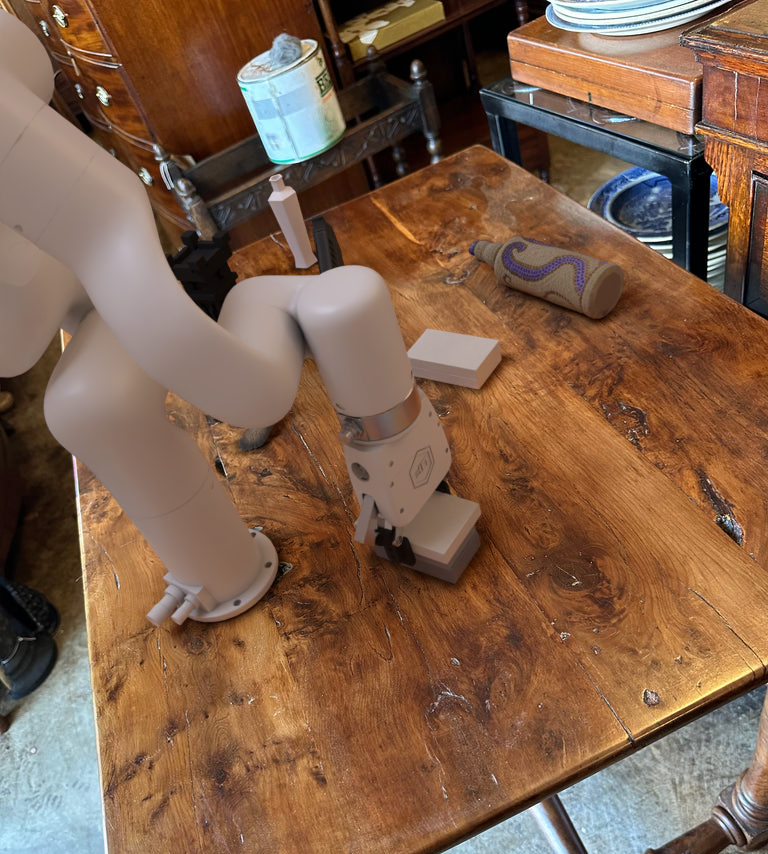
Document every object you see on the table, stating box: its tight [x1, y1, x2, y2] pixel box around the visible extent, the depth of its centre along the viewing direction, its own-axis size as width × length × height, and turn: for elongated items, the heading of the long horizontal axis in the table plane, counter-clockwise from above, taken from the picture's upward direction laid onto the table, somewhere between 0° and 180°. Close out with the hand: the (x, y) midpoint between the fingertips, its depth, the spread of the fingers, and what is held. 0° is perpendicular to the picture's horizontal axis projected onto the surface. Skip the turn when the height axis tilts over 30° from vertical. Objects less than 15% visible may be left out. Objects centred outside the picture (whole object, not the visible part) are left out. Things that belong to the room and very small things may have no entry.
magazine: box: [311, 214, 345, 275], centre depth 115 cm, size 17×3×30 cm
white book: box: [353, 490, 482, 564], centre depth 80 cm, size 7×11×2 cm, turn 56°
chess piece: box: [164, 229, 239, 323], centre depth 110 cm, size 8×8×20 cm
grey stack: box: [372, 524, 482, 585], centre depth 83 cm, size 6×10×4 cm, turn 56°
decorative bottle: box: [467, 235, 625, 320], centre depth 109 cm, size 26×8×7 cm, turn 39°
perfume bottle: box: [267, 173, 318, 269], centre depth 128 cm, size 5×4×15 cm
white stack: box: [407, 328, 502, 390], centre depth 103 cm, size 6×11×3 cm, turn 56°
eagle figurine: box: [212, 417, 277, 452], centre depth 104 cm, size 8×7×9 cm
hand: (422, 532), depth 82 cm, fingers closed on white book, 7 cm apart
